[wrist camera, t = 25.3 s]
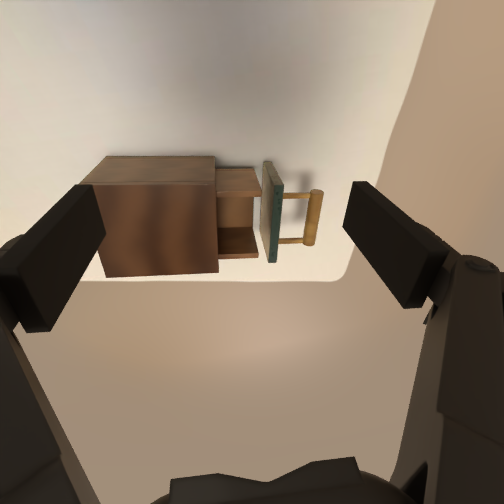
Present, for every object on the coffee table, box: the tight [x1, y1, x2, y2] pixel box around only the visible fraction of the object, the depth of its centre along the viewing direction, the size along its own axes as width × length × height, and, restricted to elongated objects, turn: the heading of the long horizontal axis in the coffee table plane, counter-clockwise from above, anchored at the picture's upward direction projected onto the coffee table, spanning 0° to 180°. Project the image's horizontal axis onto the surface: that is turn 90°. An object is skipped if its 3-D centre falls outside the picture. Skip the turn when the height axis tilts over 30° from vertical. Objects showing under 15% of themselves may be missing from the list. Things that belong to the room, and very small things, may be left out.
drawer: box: [215, 162, 324, 263], centre depth 42 cm, size 20×12×9 cm, turn 88°
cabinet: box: [79, 156, 219, 278], centre depth 40 cm, size 15×13×11 cm
